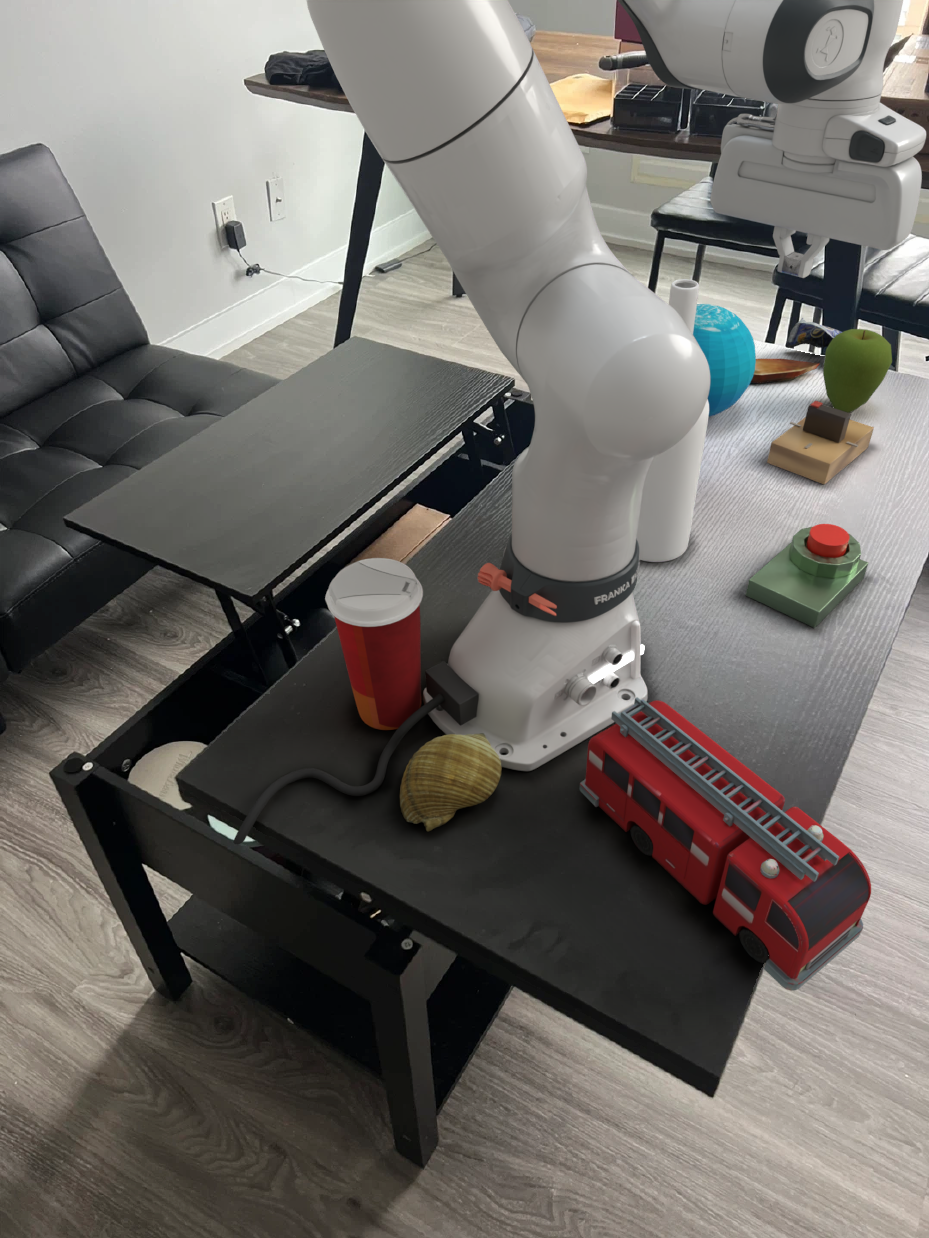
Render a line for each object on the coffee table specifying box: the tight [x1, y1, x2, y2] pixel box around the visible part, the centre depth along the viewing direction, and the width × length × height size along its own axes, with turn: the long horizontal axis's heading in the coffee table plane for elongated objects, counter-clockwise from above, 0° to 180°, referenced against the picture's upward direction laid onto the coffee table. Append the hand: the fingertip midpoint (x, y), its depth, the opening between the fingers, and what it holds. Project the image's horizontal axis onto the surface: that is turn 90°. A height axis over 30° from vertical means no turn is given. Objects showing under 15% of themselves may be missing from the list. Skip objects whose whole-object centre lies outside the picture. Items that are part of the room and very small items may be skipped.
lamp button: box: [807, 523, 850, 558], centre depth 97 cm, size 4×4×2 cm
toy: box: [579, 697, 872, 992], centre depth 69 cm, size 8×22×10 cm, turn 36°
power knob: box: [803, 400, 852, 443], centre depth 115 cm, size 5×2×4 cm, turn 46°
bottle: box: [636, 278, 710, 563], centre depth 95 cm, size 8×8×30 cm
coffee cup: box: [324, 557, 424, 731], centre depth 82 cm, size 8×8×15 cm
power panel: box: [766, 416, 875, 485], centre depth 117 cm, size 12×9×3 cm
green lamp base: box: [745, 526, 869, 629], centre depth 97 cm, size 12×8×4 cm, turn 136°
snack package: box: [785, 317, 843, 368], centre depth 138 cm, size 12×6×12 cm
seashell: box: [399, 733, 503, 832], centre depth 77 cm, size 10×7×8 cm
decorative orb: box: [693, 303, 757, 418], centre depth 123 cm, size 15×15×15 cm
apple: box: [822, 328, 893, 414], centre depth 124 cm, size 9×8×12 cm
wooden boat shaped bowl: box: [750, 358, 821, 385], centre depth 135 cm, size 14×6×2 cm, turn 87°
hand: (793, 273), depth 94 cm, fingers closed
